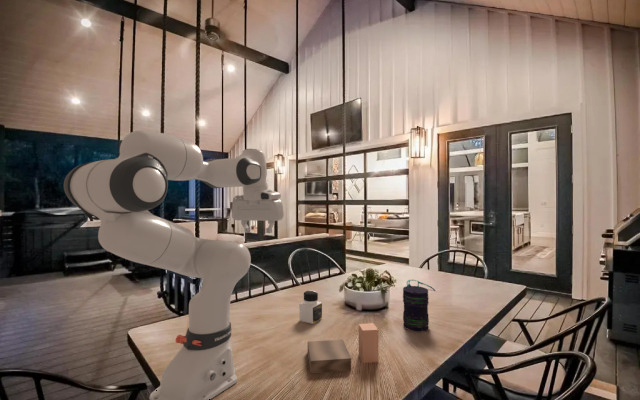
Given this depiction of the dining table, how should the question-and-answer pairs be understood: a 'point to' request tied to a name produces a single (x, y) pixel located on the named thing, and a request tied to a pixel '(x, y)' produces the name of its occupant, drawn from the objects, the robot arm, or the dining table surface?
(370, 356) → the terracotta block
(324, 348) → the walnut block
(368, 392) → the dining table surface
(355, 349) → the dining table surface
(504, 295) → the dining table surface
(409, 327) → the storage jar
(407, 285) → the sunglasses
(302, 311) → the medicine bottle
